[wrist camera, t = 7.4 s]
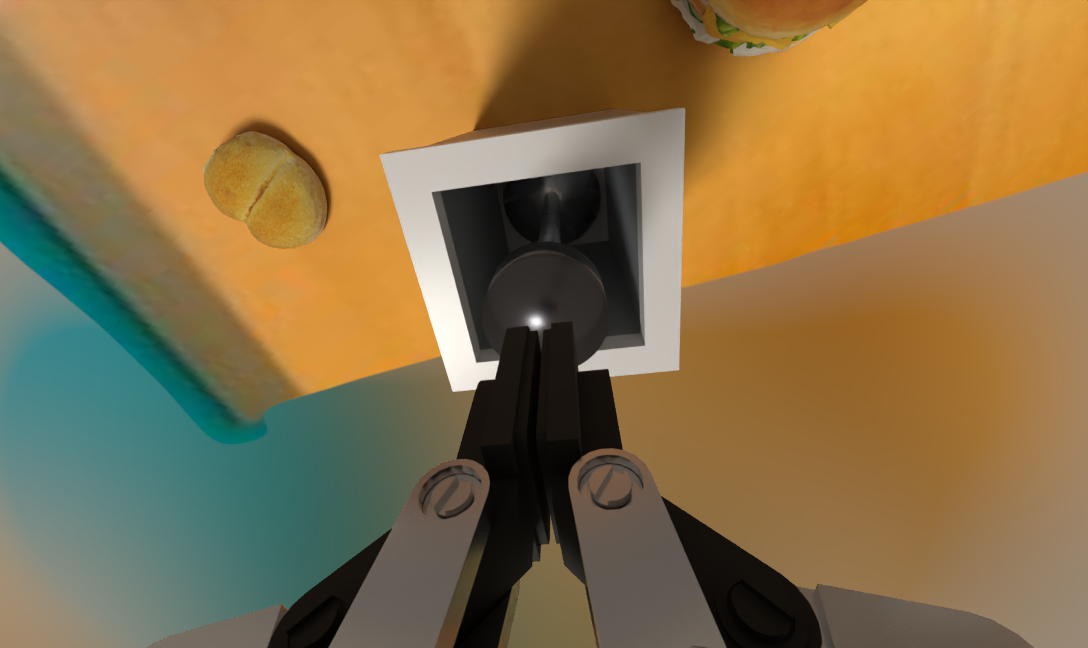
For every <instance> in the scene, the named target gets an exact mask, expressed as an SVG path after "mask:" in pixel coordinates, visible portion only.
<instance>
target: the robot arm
mask: <svg viewBox="0 0 1088 648" xmlns="http://www.w3.org/2000/svg"><path fill="white" fill-rule="evenodd" d="M550 515H551V520H552V525H553V530H554V534H555V539H556V543H557V544H560V546H561V550H562V556H563V561H564V565H565V566H566V567H567V568H568V569H569V570H570V571H571V572H572V573H573V574H574V575H575V576H576V577H577V578H578V579H579V580H580V581H581V582H582V583H583V584H584V585H585V591H586V596H587V601H588V606H589V611H590V617H591V622H592V627H593V632H594V637H595V643H596V648H1033V647H1032V646H1031V645H1030V644H1029V643H1027V642H1026V641H1025V640H1024V639H1023V638H1022V637H1020V636H1019V635H1018V634H1016V633H1014V632H1013V631H1011V630H1009V629H1007V628H1006V627H1004V626H1002V625H1000V624H998V623H997V622H995V621H993V620H991V619H988V618H985V617H982V616H979V615H976V614H973V613H970V612H965V611H961V610H955V609H950V608H944V607H939V606H934V605H928V604H923V603H917V602H912V601H907V600H902V599H896V598H891V597H886V596H880V595H875V594H869V593H864V592H859V591H853V590H848V589H843V588H837V587H832V586H826V585H821V584H817V586H816V589H815V590H813V589H808V588H802V587H797V586H795V585H794V584H792V583H791V582H790V581H789V580H788V579H786V578H785V577H784V576H783V575H781V574H780V573H778V572H777V571H775V570H774V569H772V568H771V567H769V566H768V565H766V564H765V563H763V562H762V561H760V560H759V559H757V558H755V557H754V556H753V555H751V554H749V553H748V552H746V551H745V550H743V549H741V548H740V547H738V546H737V545H736V544H734V543H732V542H731V541H729V540H728V539H726V538H725V537H723V536H722V535H720V534H719V533H717V532H715V531H714V530H712V529H711V528H710V527H708V526H706V525H705V524H703V523H702V522H700V521H699V520H697V519H696V518H694V517H693V516H691V515H690V514H688V513H686V512H685V511H683V510H681V509H680V508H679V507H677V506H676V505H674V504H673V503H671V502H670V501H668V500H666V499H665V498H663V497H662V496H661V495H660V493H659V491H658V488H657V486H656V484H655V481H654V479H653V477H652V474H651V472H650V471H649V469H648V468H647V466H646V464H645V463H644V462H643V461H642V460H640V459H639V458H638V457H637V456H636V455H634V454H631V453H629V452H627V451H624V450H623V449H622V443H621V438H620V432H619V426H618V421H617V415H616V409H615V403H614V398H613V392H612V386H611V381H610V375H609V370H608V369H601V370H590V371H579V370H578V361H577V353H576V345H575V336H574V328H573V321H568V322H559V323H551V329H545V330H543V341H542V353H541V347H540V341H539V335H538V331H537V330H536V331H530V328H529V326H520V327H511V328H507V329H506V333H505V337H504V342H503V346H502V351H501V355H500V359H499V364H498V368H497V372H496V377H495V379H492V380H481V381H480V382H479V383H478V385H477V388H476V392H475V395H474V399H473V402H472V406H471V409H470V413H469V416H468V420H467V424H466V427H465V431H464V434H463V438H462V441H461V445H460V449H459V452H458V455H457V459H456V460H451V461H448V462H444V463H441V464H440V465H438V466H436V467H434V468H432V469H431V470H430V471H429V472H427V473H426V474H425V475H424V476H423V477H422V478H421V479H420V480H419V482H418V483H417V484H416V486H415V487H414V489H413V491H412V493H411V494H410V497H409V498H408V500H407V502H406V504H405V506H404V508H403V509H402V511H401V513H400V515H399V517H398V519H397V521H396V522H395V524H394V526H393V528H392V529H390V530H389V531H388V532H386V533H385V534H384V535H382V536H381V537H380V538H378V539H377V540H376V541H375V542H373V543H372V544H370V545H369V546H368V547H366V548H365V549H364V550H362V551H361V552H360V553H358V554H357V555H356V556H354V557H353V558H352V559H350V560H349V561H348V562H346V563H345V564H344V565H343V566H341V567H340V568H338V569H337V570H336V571H334V572H333V573H332V574H331V575H329V576H328V577H327V578H325V579H324V580H323V581H321V582H320V583H319V584H317V585H316V586H315V587H313V588H312V589H311V590H309V591H308V592H307V593H305V594H304V595H303V596H302V597H301V598H300V599H299V600H298V601H297V602H295V604H293V605H292V606H291V608H288V609H286V608H285V607H284V606H283V605H282V604H280V605H276V606H273V607H269V608H266V609H262V610H259V611H255V612H252V613H248V614H245V615H241V616H238V617H234V618H231V619H228V620H224V621H220V622H217V623H213V624H210V625H206V626H203V627H199V628H196V629H193V630H189V631H186V632H182V633H178V634H175V635H172V636H169V637H167V638H164V639H162V640H160V641H158V642H155V643H153V644H152V645H150V646H149V647H148V648H507V647H508V642H509V638H510V633H511V628H512V624H513V620H514V615H515V610H516V606H517V601H518V596H519V590H520V578H521V577H522V576H523V575H524V574H525V573H526V572H527V571H528V570H529V569H530V568H531V567H532V562H534V561H540V551H541V550H540V549H541V544H549V541H550Z"/></svg>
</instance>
